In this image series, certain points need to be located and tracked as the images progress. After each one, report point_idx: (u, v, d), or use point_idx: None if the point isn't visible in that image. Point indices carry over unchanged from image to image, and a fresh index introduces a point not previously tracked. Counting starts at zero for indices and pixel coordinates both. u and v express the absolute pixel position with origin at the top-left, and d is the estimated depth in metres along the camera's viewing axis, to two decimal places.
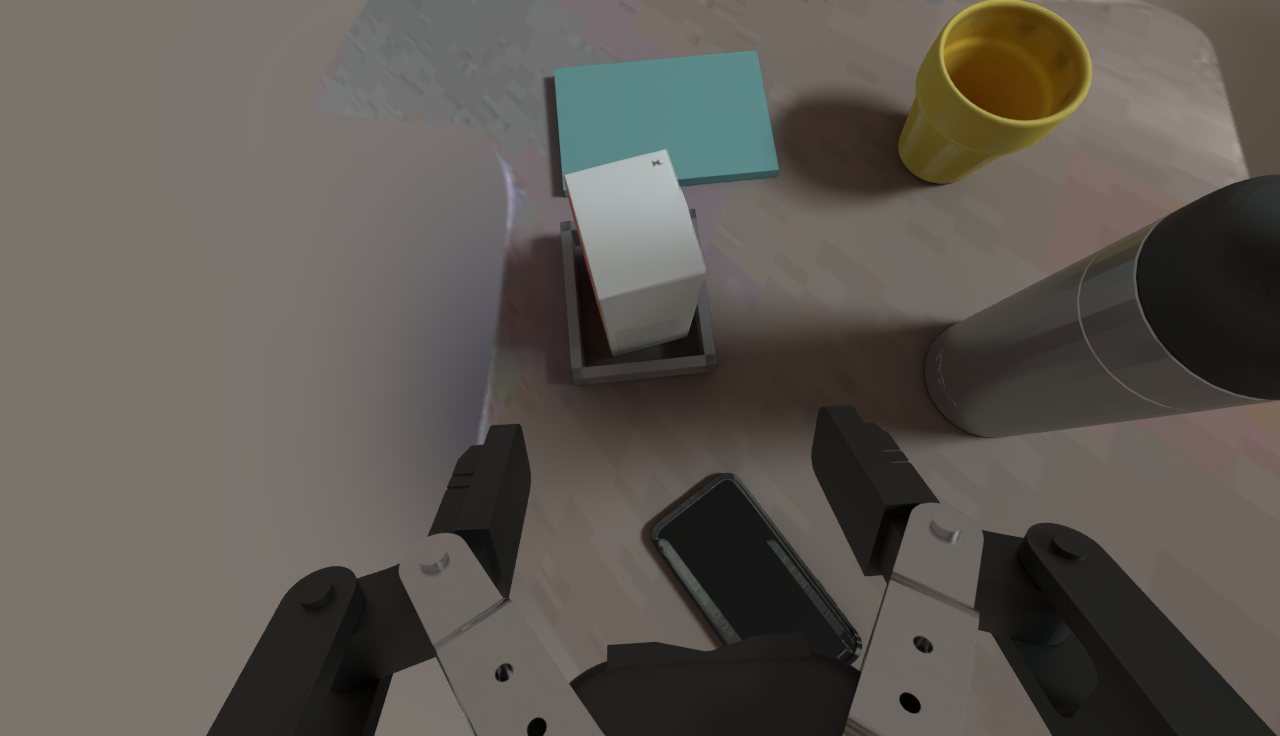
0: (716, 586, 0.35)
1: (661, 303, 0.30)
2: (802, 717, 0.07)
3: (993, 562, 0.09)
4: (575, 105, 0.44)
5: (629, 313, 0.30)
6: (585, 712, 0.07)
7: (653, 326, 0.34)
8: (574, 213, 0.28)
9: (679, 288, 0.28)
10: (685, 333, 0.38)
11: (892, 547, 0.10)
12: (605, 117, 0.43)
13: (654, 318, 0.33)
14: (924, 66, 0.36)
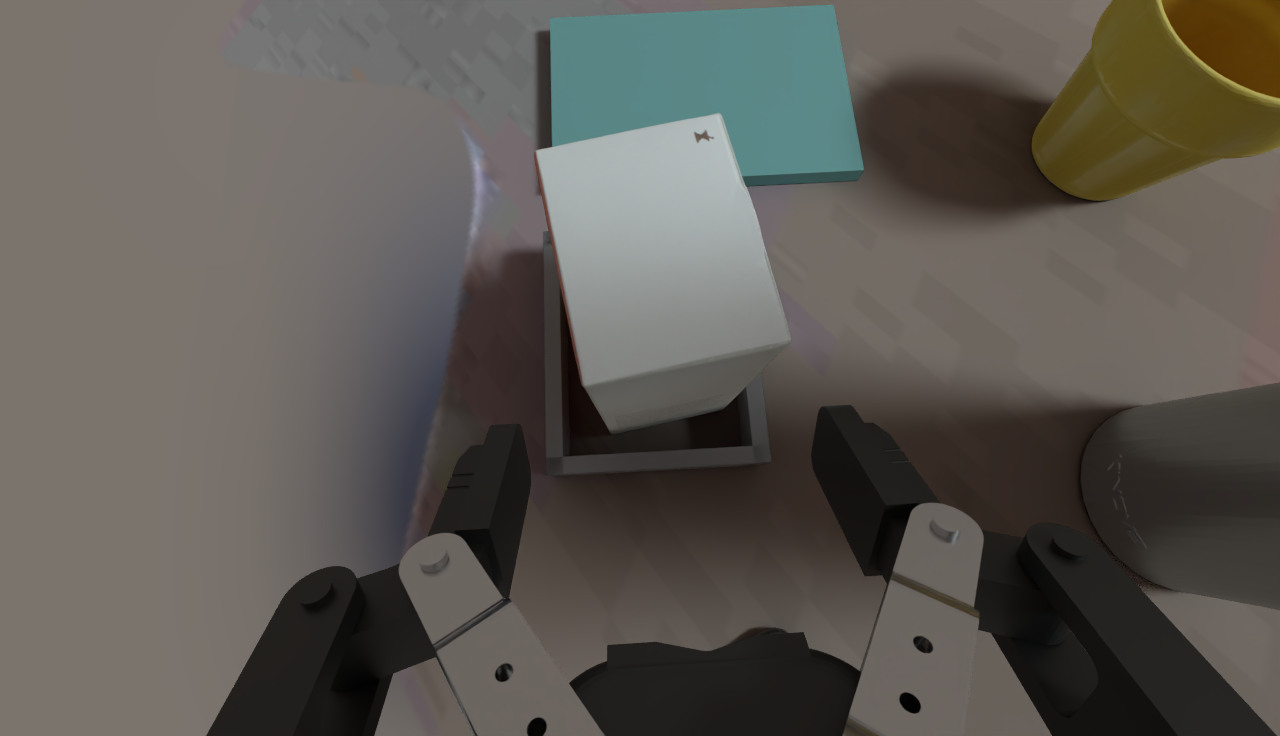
0: None
1: (697, 383, 0.17)
2: (802, 717, 0.07)
3: (993, 562, 0.09)
4: (577, 68, 0.31)
5: (640, 397, 0.17)
6: (585, 712, 0.07)
7: (677, 406, 0.21)
8: (548, 220, 0.15)
9: (734, 366, 0.16)
10: (722, 407, 0.25)
11: (892, 547, 0.10)
12: (618, 86, 0.31)
13: (681, 399, 0.20)
14: (1114, 17, 0.23)
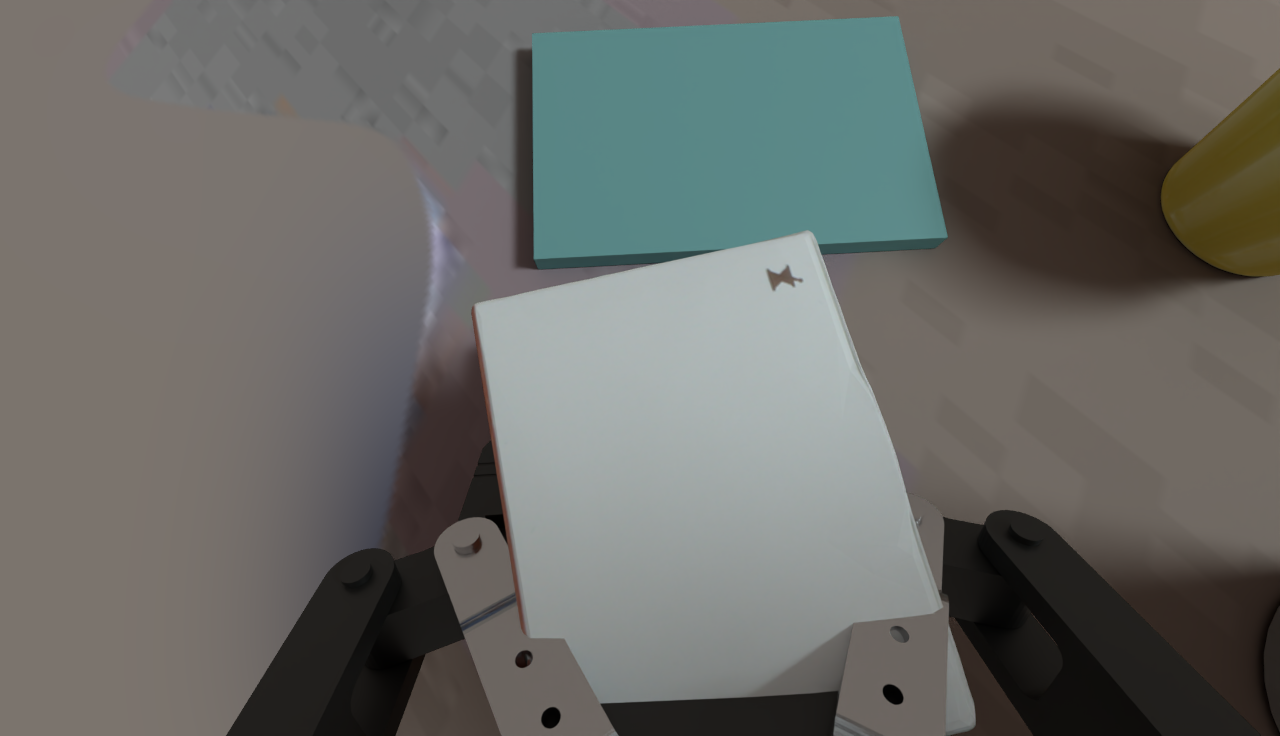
0: None
1: None
2: (802, 717, 0.07)
3: (954, 548, 0.10)
4: (567, 99, 0.24)
5: None
6: (599, 707, 0.07)
7: None
8: (495, 447, 0.08)
9: None
10: None
11: None
12: (621, 124, 0.23)
13: None
14: None
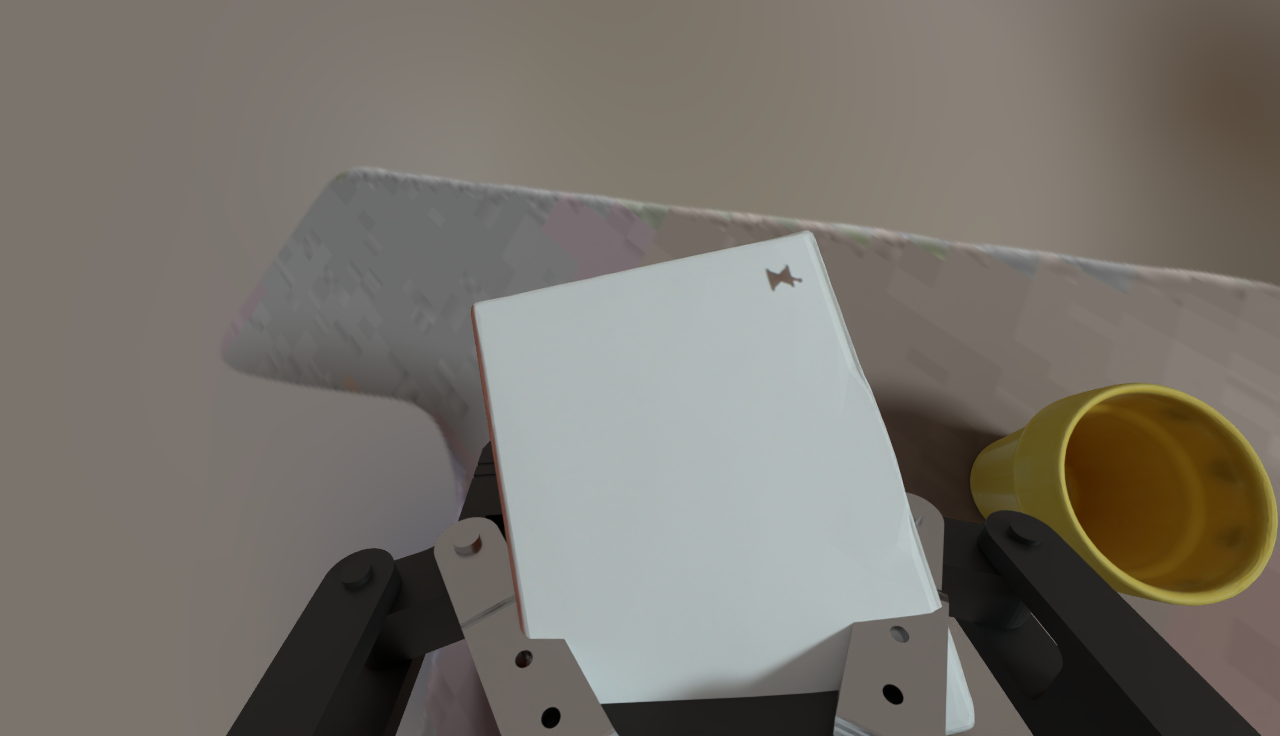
0: None
1: None
2: (802, 717, 0.07)
3: (954, 548, 0.10)
4: None
5: None
6: (599, 707, 0.07)
7: None
8: (494, 447, 0.08)
9: None
10: None
11: None
12: None
13: None
14: (1030, 458, 0.26)
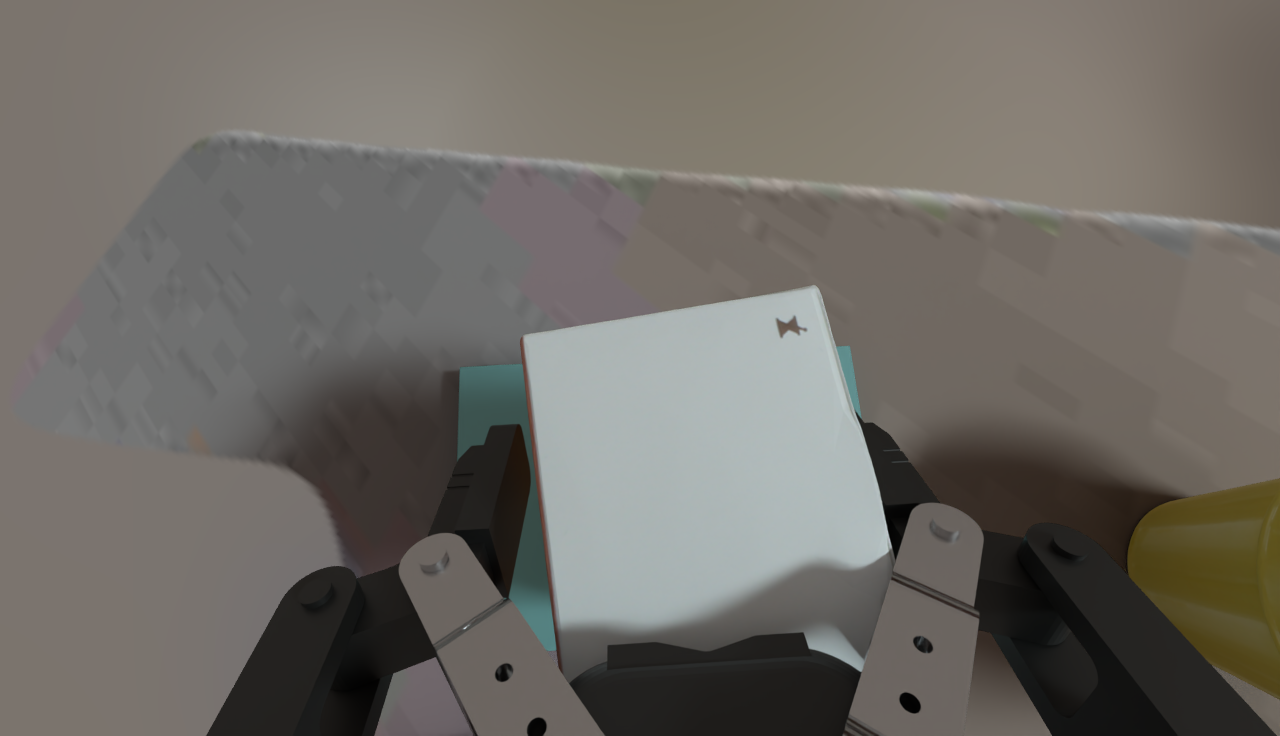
0: None
1: None
2: (802, 717, 0.07)
3: (993, 562, 0.09)
4: None
5: None
6: (585, 712, 0.07)
7: None
8: (536, 460, 0.09)
9: None
10: None
11: (892, 547, 0.10)
12: None
13: None
14: None
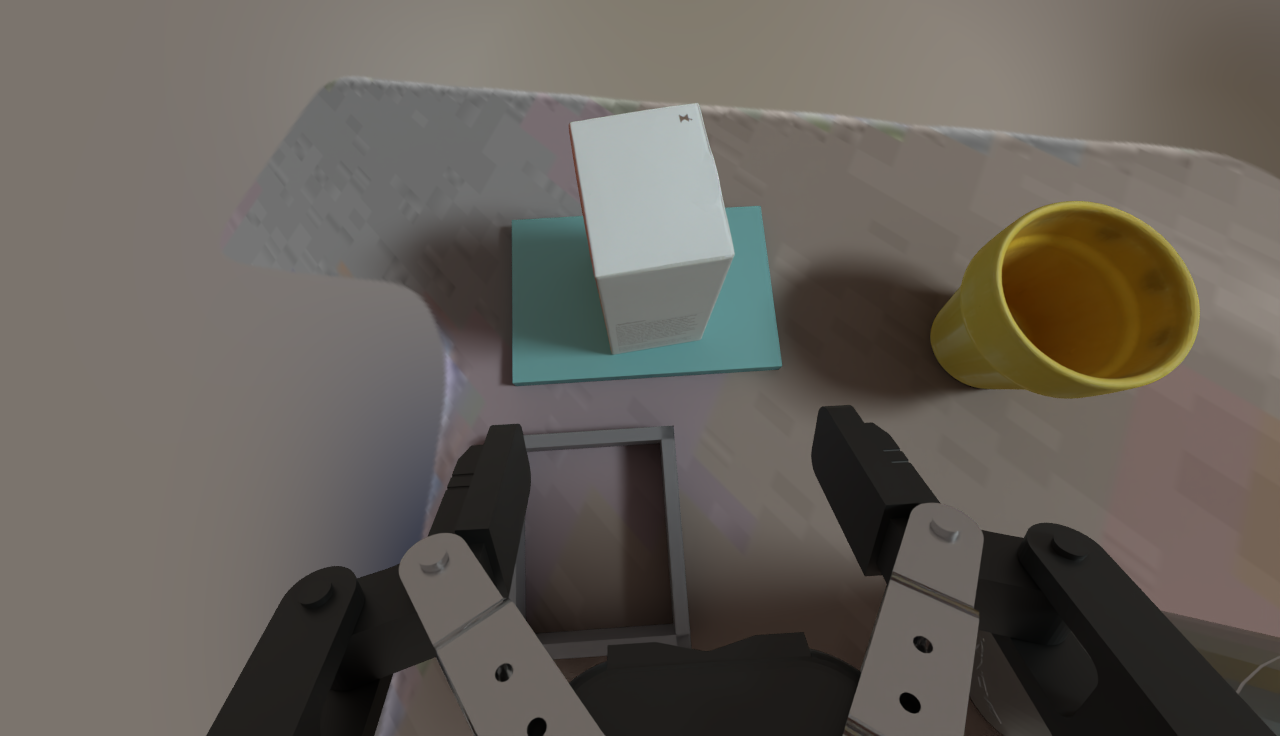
0: None
1: (674, 292, 0.24)
2: (802, 717, 0.07)
3: (993, 562, 0.09)
4: (535, 269, 0.35)
5: (633, 300, 0.25)
6: (585, 712, 0.07)
7: (662, 322, 0.29)
8: (577, 169, 0.23)
9: (698, 275, 0.23)
10: (699, 335, 0.33)
11: (892, 547, 0.10)
12: (570, 286, 0.35)
13: (664, 311, 0.27)
14: (973, 278, 0.28)
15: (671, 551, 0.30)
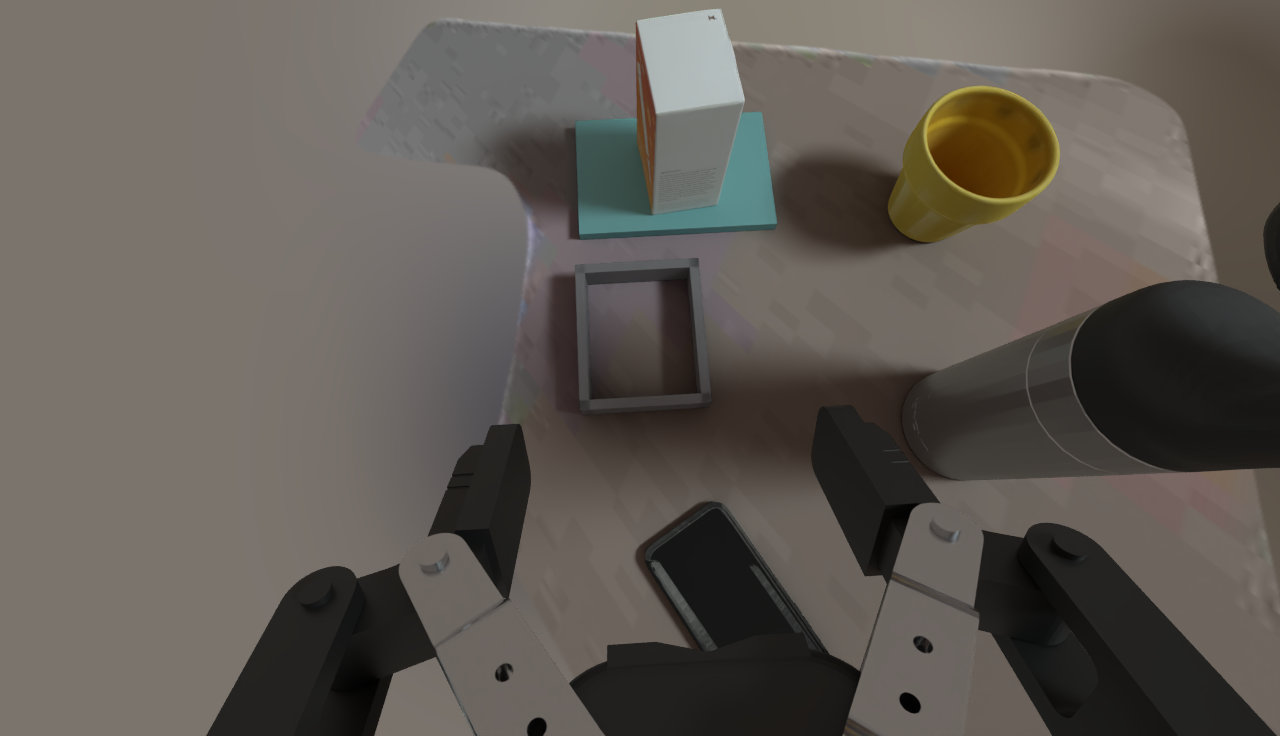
0: (702, 606, 0.39)
1: (703, 137, 0.37)
2: (802, 717, 0.07)
3: (993, 562, 0.09)
4: (593, 155, 0.48)
5: (676, 143, 0.37)
6: (585, 712, 0.07)
7: (692, 174, 0.41)
8: (642, 49, 0.35)
9: (720, 119, 0.35)
10: (716, 197, 0.45)
11: (892, 547, 0.10)
12: (620, 168, 0.47)
13: (694, 160, 0.39)
14: (910, 141, 0.40)
15: (697, 340, 0.42)
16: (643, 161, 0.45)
